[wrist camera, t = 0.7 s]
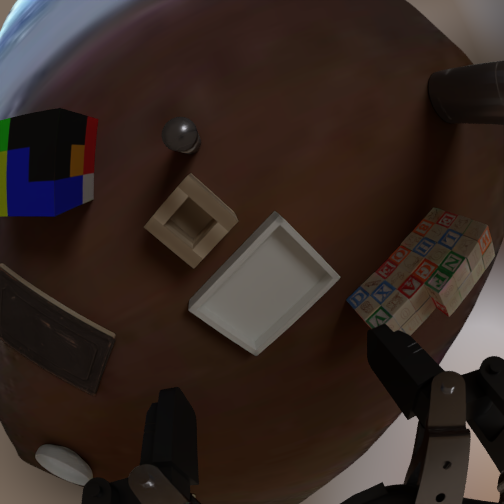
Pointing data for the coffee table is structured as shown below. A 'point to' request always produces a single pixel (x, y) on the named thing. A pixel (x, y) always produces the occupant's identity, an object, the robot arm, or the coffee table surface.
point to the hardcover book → (52, 333)
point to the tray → (264, 286)
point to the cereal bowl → (64, 463)
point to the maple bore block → (191, 221)
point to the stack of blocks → (425, 272)
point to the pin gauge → (181, 135)
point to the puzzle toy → (46, 162)
